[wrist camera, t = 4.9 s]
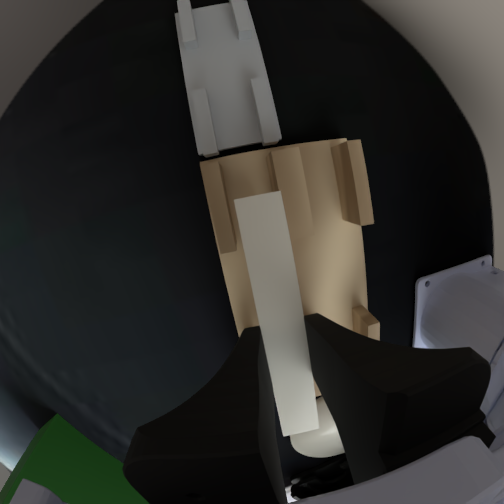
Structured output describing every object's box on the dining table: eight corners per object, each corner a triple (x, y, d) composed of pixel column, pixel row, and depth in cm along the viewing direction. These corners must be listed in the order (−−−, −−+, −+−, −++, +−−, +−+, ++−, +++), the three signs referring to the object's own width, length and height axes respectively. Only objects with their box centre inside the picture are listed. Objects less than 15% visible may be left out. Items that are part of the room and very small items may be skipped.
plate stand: (245, 2, 14) (246, -12, 12) (281, 144, 16) (286, 139, 15) (175, 15, 14) (171, 2, 12) (200, 160, 16) (196, 157, 15)
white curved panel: (267, 203, 15) (280, 190, 9) (298, 372, 16) (319, 428, 10) (238, 209, 15) (233, 199, 9) (272, 377, 16) (283, 436, 10)
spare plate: (382, 373, 21) (388, 380, 20) (376, 433, 23) (379, 440, 22) (282, 401, 21) (284, 410, 20) (293, 456, 23) (295, 465, 22)
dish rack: (341, 140, 17) (365, 130, 13) (364, 355, 20) (382, 381, 17) (201, 163, 17) (191, 156, 13) (252, 382, 20) (254, 414, 17)
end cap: (311, 494, 25) (320, 534, 19) (284, 478, 24) (292, 525, 17) (382, 460, 24) (401, 499, 18) (366, 440, 23) (387, 486, 16)
